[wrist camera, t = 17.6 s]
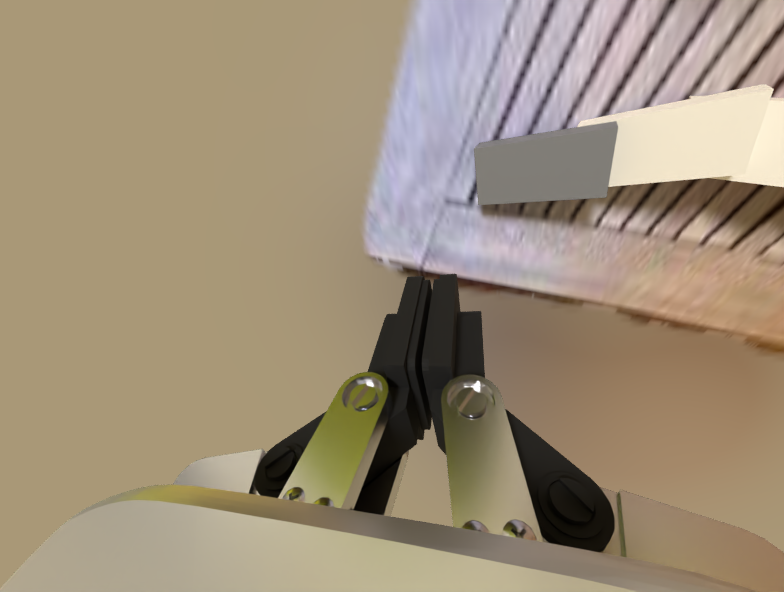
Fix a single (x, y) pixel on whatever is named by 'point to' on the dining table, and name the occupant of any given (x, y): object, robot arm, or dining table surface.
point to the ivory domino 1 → (687, 137)
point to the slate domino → (546, 165)
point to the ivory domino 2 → (766, 149)
